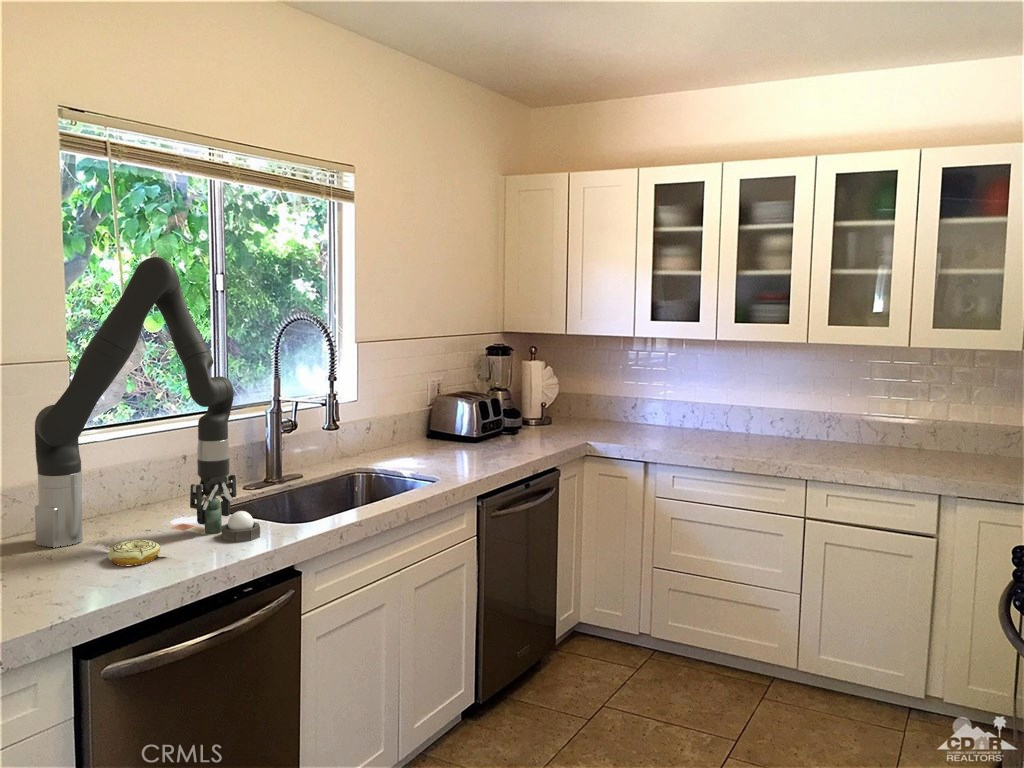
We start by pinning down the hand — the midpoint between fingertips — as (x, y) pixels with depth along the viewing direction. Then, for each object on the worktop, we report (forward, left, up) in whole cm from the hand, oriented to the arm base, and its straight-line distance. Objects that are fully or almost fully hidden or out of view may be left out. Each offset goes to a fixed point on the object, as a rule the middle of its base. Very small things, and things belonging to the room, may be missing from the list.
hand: (214, 519), depth 210 cm
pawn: (0, 0, -3) cm, 3 cm away
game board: (0, -1, -4) cm, 4 cm away
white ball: (0, -9, -3) cm, 9 cm away
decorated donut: (-22, +3, -5) cm, 23 cm away
